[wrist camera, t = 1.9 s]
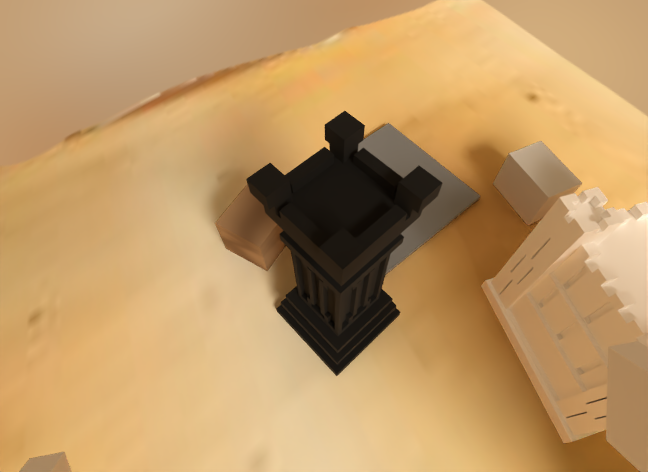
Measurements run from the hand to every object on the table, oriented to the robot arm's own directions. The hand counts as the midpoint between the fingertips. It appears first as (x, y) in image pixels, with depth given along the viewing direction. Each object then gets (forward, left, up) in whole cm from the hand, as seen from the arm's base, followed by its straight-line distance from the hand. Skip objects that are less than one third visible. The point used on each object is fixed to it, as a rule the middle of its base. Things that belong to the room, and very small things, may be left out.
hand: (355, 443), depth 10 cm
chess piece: (-10, +8, -26) cm, 29 cm away
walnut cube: (-21, +7, -26) cm, 34 cm away
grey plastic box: (-7, +32, -26) cm, 42 cm away
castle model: (+6, +24, -26) cm, 36 cm away
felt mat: (-17, +21, -26) cm, 38 cm away
